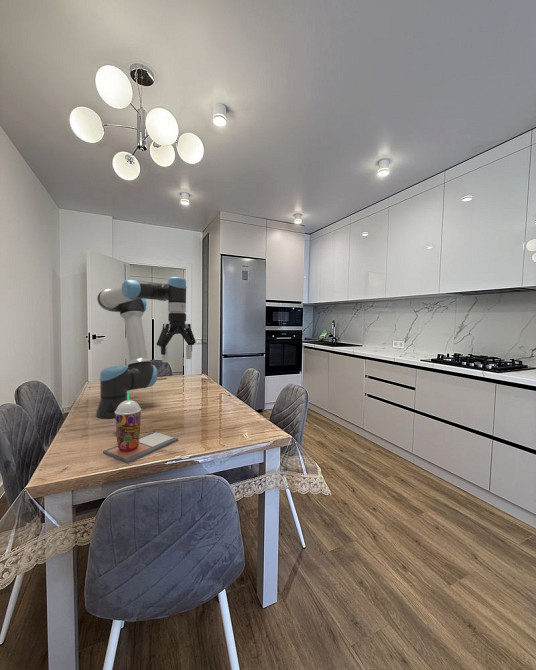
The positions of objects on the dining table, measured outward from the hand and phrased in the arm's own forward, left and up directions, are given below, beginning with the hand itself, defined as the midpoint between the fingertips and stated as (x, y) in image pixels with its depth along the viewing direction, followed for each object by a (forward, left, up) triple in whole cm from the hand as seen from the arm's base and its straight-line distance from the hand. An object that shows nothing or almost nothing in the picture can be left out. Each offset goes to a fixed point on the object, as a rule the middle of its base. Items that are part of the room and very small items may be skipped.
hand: (177, 360), depth 127 cm
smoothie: (+6, -28, -28) cm, 40 cm away
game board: (+7, -23, -29) cm, 37 cm away
